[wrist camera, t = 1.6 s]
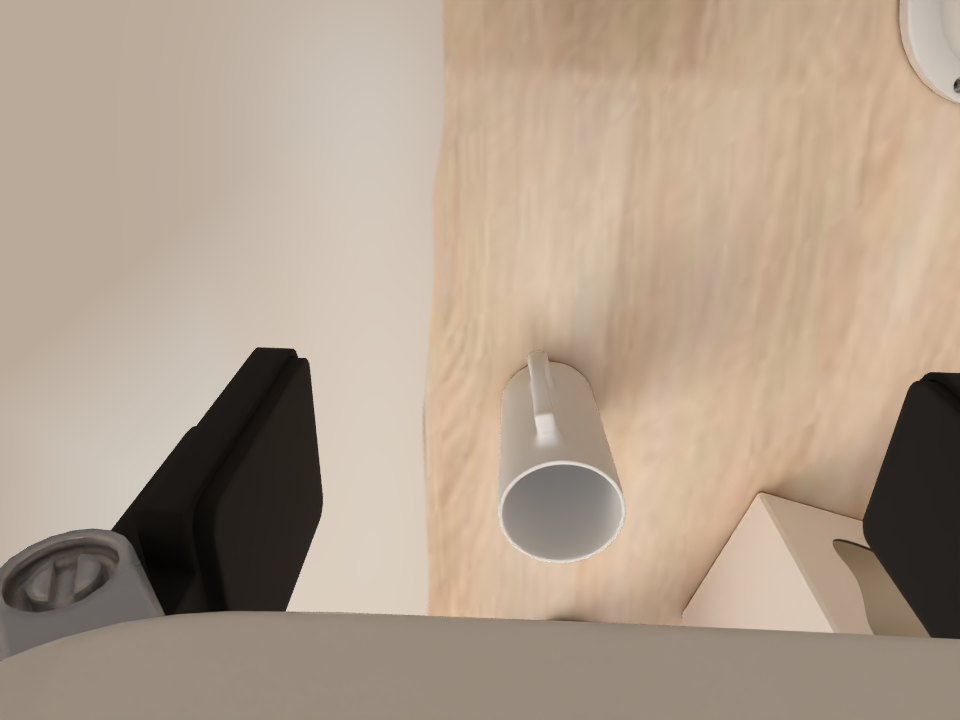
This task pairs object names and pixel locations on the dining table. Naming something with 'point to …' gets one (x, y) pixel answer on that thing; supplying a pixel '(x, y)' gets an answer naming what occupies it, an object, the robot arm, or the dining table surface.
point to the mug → (556, 466)
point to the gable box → (800, 577)
